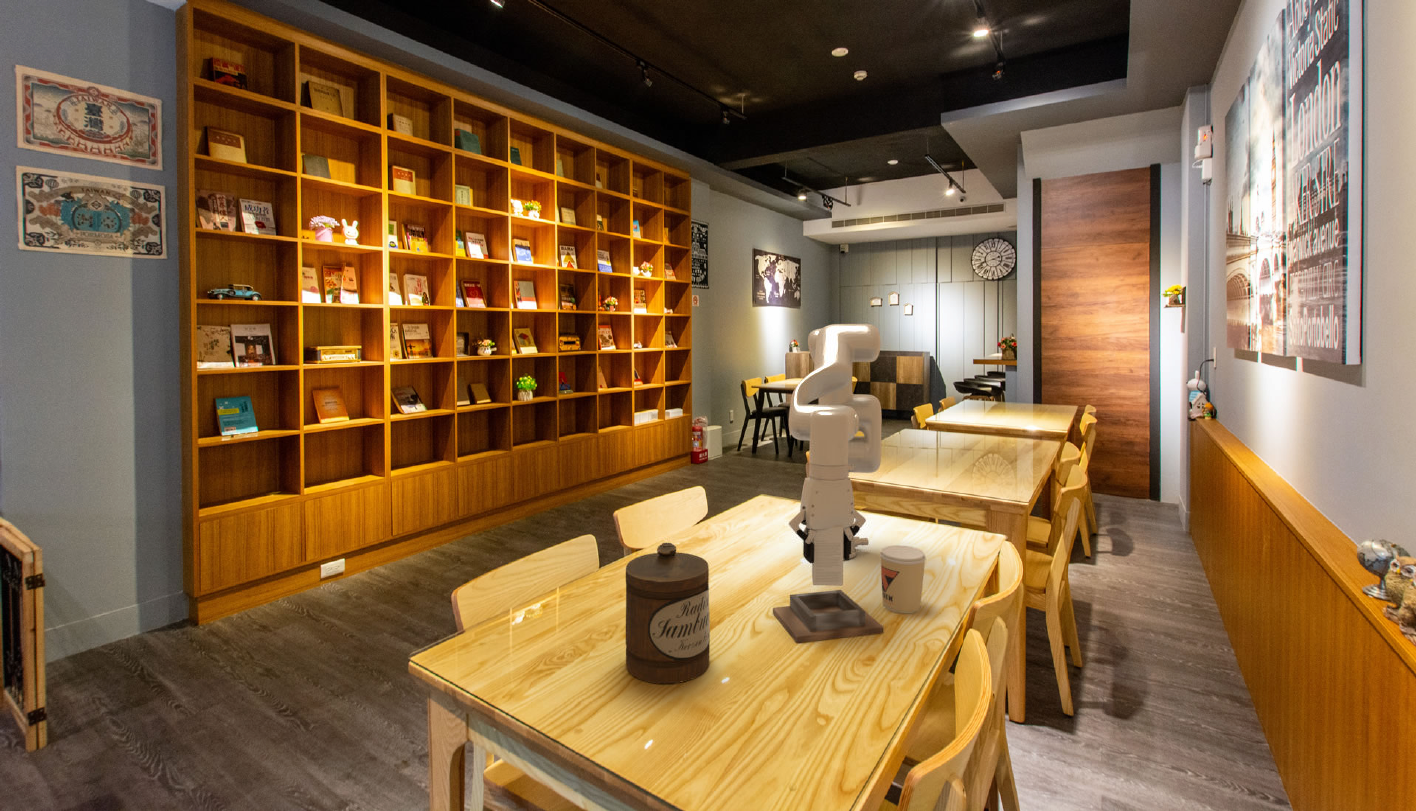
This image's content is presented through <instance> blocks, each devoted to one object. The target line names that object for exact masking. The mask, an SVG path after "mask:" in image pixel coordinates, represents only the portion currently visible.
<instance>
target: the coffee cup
mask: <svg viewBox="0 0 1416 811" xmlns="http://www.w3.org/2000/svg"><path fill="white" fill-rule="evenodd" d="M879 556H880V574H881V576H880V577H881V596H882V597H881V598H882V605H883V607H884V609H886V610H888V611H890V612H894V613H899V614H913V613H917V612H918V611H920V609H921V603H922V593H923V585H924V577H925V576H924V575H925V564H926V560H927V559H926V555H925V552H924V551H923V550H921V549H920V548H916V547H912V546H907V545H888V546H885V547H883V548H882V549H881V551H880V552H879Z"/></svg>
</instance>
